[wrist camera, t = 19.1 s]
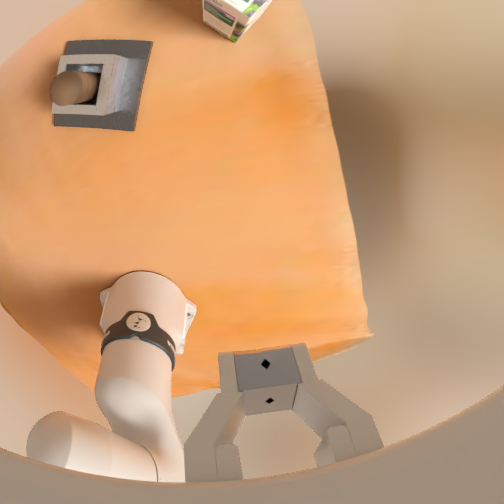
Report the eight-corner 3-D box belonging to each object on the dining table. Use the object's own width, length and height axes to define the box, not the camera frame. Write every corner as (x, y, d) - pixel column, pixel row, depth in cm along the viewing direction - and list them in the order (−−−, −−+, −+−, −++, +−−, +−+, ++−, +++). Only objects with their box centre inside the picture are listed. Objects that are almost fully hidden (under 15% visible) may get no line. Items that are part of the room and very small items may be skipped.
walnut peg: (95, 105, 32) (64, 113, 24) (78, 89, 30) (43, 92, 22) (114, 84, 31) (87, 84, 23) (96, 67, 29) (65, 63, 21)
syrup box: (201, 22, 29) (197, -11, 17) (229, -7, 27) (239, -49, 15) (235, 43, 32) (248, 20, 19) (262, 14, 29) (289, -18, 17)
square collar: (134, 130, 36) (121, 139, 30) (57, 124, 33) (33, 133, 27) (153, 42, 30) (142, 34, 24) (70, 41, 27) (48, 37, 21)
